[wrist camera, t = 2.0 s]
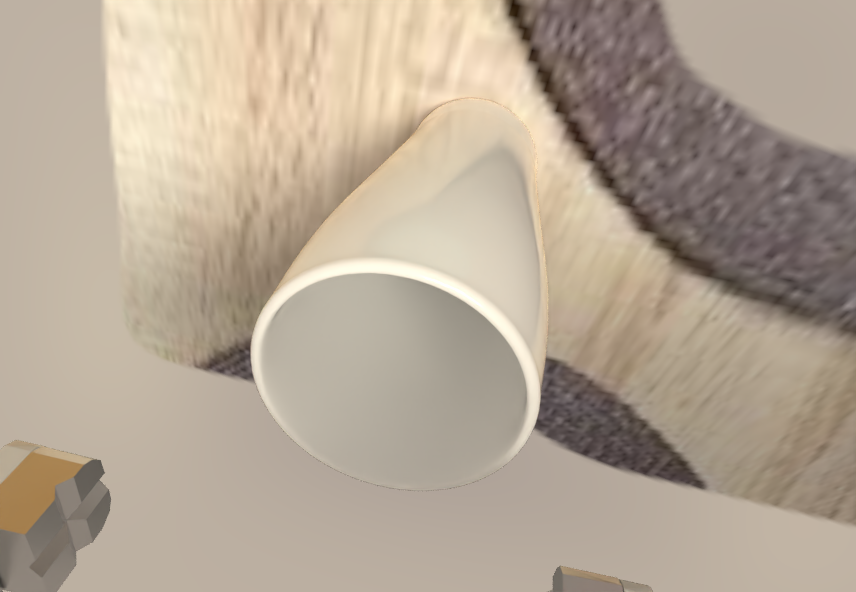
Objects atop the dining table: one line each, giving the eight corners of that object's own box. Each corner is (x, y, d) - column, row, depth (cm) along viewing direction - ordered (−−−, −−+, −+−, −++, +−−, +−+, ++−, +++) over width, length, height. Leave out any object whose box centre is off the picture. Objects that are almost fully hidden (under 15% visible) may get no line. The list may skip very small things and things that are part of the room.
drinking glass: (516, 251, 28) (476, 531, 16) (378, 196, 28) (225, 435, 15) (584, 113, 24) (602, 337, 12) (424, 48, 24) (271, 207, 12)
